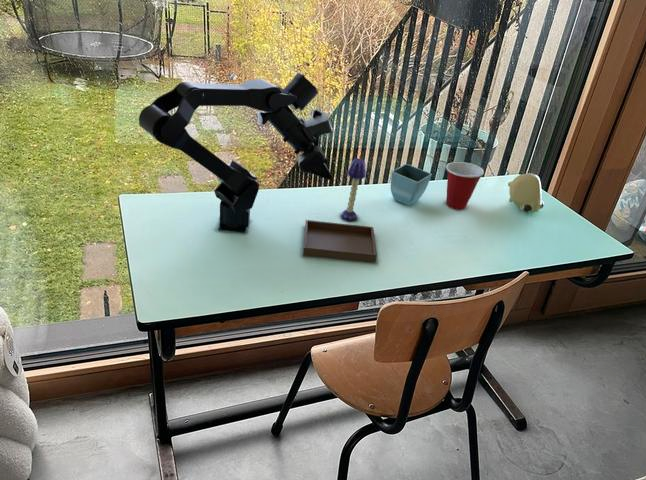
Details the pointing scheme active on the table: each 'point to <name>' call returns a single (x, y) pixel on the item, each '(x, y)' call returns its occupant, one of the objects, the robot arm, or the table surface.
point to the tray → (339, 241)
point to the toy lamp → (354, 187)
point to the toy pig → (526, 193)
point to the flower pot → (408, 183)
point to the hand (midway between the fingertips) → (329, 170)
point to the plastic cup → (461, 183)
